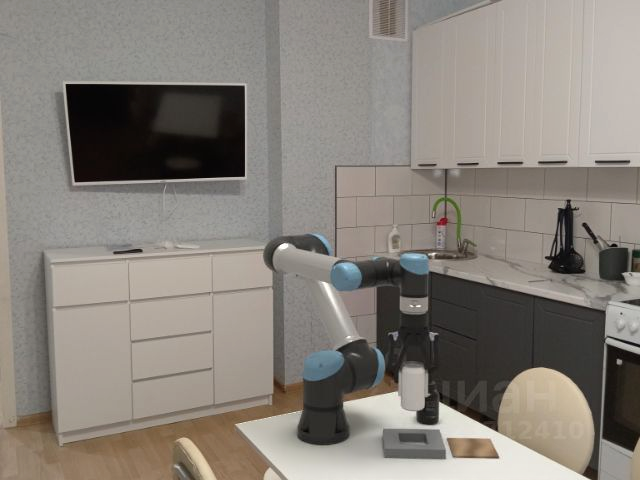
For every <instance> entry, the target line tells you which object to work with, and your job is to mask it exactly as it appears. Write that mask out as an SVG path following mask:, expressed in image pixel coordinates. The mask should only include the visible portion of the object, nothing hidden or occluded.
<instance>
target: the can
mask: <svg viewBox="0 0 640 480" xmlns="http://www.w3.org/2000/svg"><path fill="white" fill-rule="evenodd" d="M424 365H425V364H424V363H422V362H419V361H413V360H411V361H405V362H402V367H401V368H400V370H401V372H402V388H401V396H400V407H401V409H403V410H405V411H409V412H416V411H420V410H422V409H423V408H424V407H425V370H426V369H425V366H424Z"/></svg>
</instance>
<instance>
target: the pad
mask: <svg viewBox="0 0 640 480" xmlns="http://www.w3.org/2000/svg"><path fill="white" fill-rule="evenodd" d="M446 442H447V444H448V446H449V450H450V453H451V456H452V458H455V459H457V458H458V459H459V458H460V459H461V458H462V459H465V458H466V459H467V458H468V459H500V456H499V454H498V451H497V450H496V447H495V445H494V444H493V441H492V440H491V438H487V437H486V438H484V437H483V438H481V437H480V438H479V437H478V438H477V437H447V438H446Z"/></svg>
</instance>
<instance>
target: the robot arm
mask: <svg viewBox="0 0 640 480" xmlns="http://www.w3.org/2000/svg"><path fill="white" fill-rule="evenodd" d="M332 252H333V251H332V248H331V244H330V243H329V241H328V240H327V239H326V238H325V237H324V236H322V235H320V234H317V233H305V234H297V235H296V234H295V235H293V234H292V235H280V236H276V237H274V238H272V239H270V240H269V241H268V242H267V244H266V245H265V246H264V249H263V251H262V259H263V263H264V265H265V266H266V268H268V269H269V270H270V271H271V272H274V273H277V274H280V275H289V274H293V275H295V276H296V279H297V281H299V282H301V283H304V285H305V287H306V289H307V292H308V294H309V296H310V298H311V301H312V303H313V305H314V308H315V309H316V312H317V314H318V316H319V318H320V320H321V321H320V322H321V323H322V324H323V325H322V326H323V328H324V330H325V331H326V334H327V337H328V339H329V340H330V343H331V345H332V347H333V349H331V350H330V349H329V350H320V351H319V350H318V351H316V352H313V353H311V354H309V355H308V356H306V357H305V358H304V360H303V362H302V373H301V375H302V411H301V413H300V418H299V420H298V424H297V427H296V429H297V430H296V431H297V432H296V434H297V438H299V439H300V441H303V442H305V443H308V444H314V445H333V444H338V443H341V442H344V441H345V440H347V439H348V438H349V437H350V435H351V434H350V433H351V431H350V424H349V421H348V418H347V415H346V412H345V408H344V400H345V399H344V396H345V395H349V394H351V393H352V394H353V393H355V392H360V391H363V390H369V389H371V388H374V387H376V386H378V385H379V384H380V383H381V382H382V381H383V379H384V377H385V371H386V361H385V358H384V355H383V354H382V351H381V350H380V349H378V348H376V347H374V346H370V344H369V342H368V340H367V339H366V338H365V337H362V336H360V335H359V333H358V331H357V329H356V326H355V325H354V322H353V320H352V318H351V316H350V314H349V312H348V309H347V308H346V307H347V306H346V305H345V303H344V301H343V299H342V297H341V295H340V292H354V291H356V290H358V291H359V290H363V289H371V288H377V287H378V288H379V287H385V286H391V287H396V288H399V310H400V312H399V327H398V329H397V331H394V332H391V331H390V332H388V334H387V335H388V339H389V345H388V357H387V369H388V370H389V371H393V382H394V384H397V393H398V394H397V395H398V397H401V388H402V372H401V368H402V367H401V366H402V365H403V362H404V358H405V355H406V352H407V351H408V348H409V347H419V349H420V352H421V355H422V358H423V360H424V363H425V364H424V365H425V366H426V369H425V397H428V384H432V381H433V373H434V372H437V371H439V370H440V363H439V362H440V361H439V347H438V343H439V339H440V335H439V333H438V332H431V331H430V330H429V323H428V322H429V313H428V311H429V277H430V276H429V275H430V274H429V273H430V267H429V266H430V265H429V264H430V263H429V257H428V255H426V254H423V253H403V254H401V255H400V259H398V258H397V259H396V258H390V257H386V256H375V257H373V258H371V259H369V260H368V259H366V260H359V261H358V260H357V261H356V260H355V261H353V260H348V259H345V258H340V257H336V256H333V255H332ZM398 336H399V338H400V339H401V341H402V343H401V347H400V350H399V353H398V356H397V359H396V361H395V363H394V357H395V345H396V344H395V341H397V340H398ZM428 337H429V339H430V341H431V347H432V361H433V364H432V365H431V363H430V358H429V356H428V354H427V353H428V352H427V350H426V347H425V341H427V339H428Z"/></svg>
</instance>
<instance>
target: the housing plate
mask: <svg viewBox="0 0 640 480" xmlns="http://www.w3.org/2000/svg"><path fill="white" fill-rule="evenodd" d="M400 442H401V443H400ZM403 442H404V443H403ZM405 442H406V443H405ZM382 443H383V453H384V455H383V456H384V458H385V459H422V460H425V459H426V460H427V459H428V460H431V459H432V460H434V459H435V460H436V459H437V460H441V459H442V460H446V459H447V448H446V445H445V443H444V439H443V436H442V433H441V430H440V429H439V428H438V429H437V428H436V429H435V428H434V429H433V428H432V429H431V428H429V429H427V428H382ZM413 443H415V444H413ZM416 443H420V444H416ZM421 443H423V444H421ZM424 443H425V444H424Z"/></svg>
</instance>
